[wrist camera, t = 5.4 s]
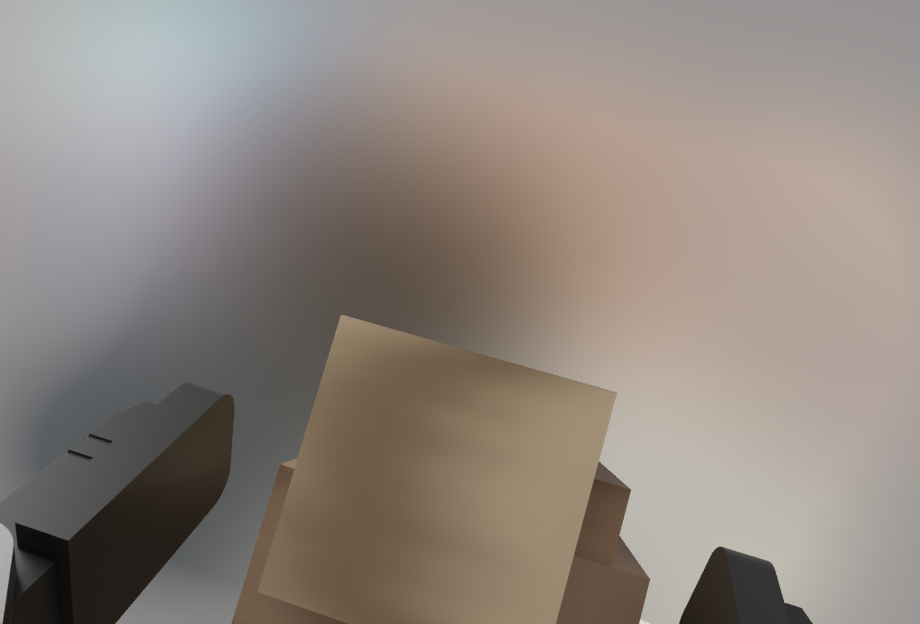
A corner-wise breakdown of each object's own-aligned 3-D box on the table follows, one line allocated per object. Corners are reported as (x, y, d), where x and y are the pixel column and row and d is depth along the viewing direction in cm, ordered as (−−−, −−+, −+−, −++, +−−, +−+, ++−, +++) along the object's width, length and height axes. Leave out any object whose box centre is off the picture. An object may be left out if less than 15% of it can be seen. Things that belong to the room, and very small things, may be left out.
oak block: (257, 591, 9) (340, 314, 10) (459, 448, 34) (480, 371, 34) (538, 689, 9) (616, 392, 9) (536, 471, 33) (557, 393, 34)
